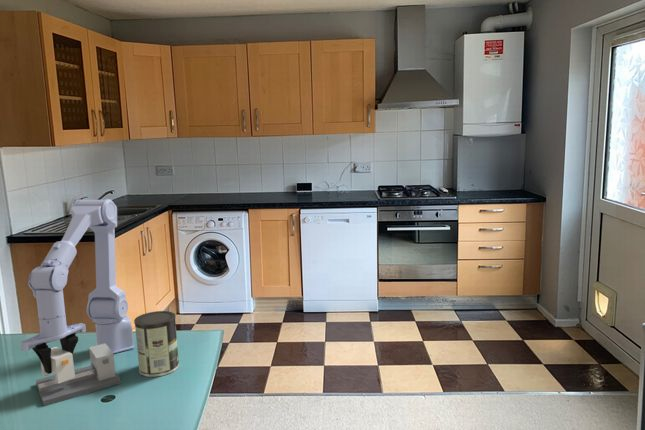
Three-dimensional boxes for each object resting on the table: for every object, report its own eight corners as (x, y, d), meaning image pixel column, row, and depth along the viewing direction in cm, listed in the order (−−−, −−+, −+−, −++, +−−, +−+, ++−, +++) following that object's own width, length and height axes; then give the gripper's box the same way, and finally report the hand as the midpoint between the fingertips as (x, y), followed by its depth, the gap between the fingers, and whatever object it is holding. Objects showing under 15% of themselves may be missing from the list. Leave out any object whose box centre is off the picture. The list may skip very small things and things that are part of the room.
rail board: (107, 365, 138) (105, 340, 137) (120, 383, 127) (117, 356, 126) (36, 384, 128) (33, 357, 127) (43, 405, 118) (40, 376, 117)
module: (58, 369, 129) (55, 346, 128) (76, 377, 124) (73, 354, 123) (42, 375, 126) (39, 352, 125) (59, 384, 121) (56, 360, 120)
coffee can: (166, 356, 143) (162, 307, 140) (186, 367, 136) (183, 316, 133) (131, 369, 135) (126, 318, 133) (151, 381, 128) (146, 327, 126)
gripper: (73, 303, 131) (79, 354, 133) (12, 321, 119) (19, 375, 121) (87, 309, 126) (93, 360, 128) (25, 327, 115) (32, 383, 117)
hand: (58, 368), depth 125 cm, fingers closed on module, 4 cm apart
